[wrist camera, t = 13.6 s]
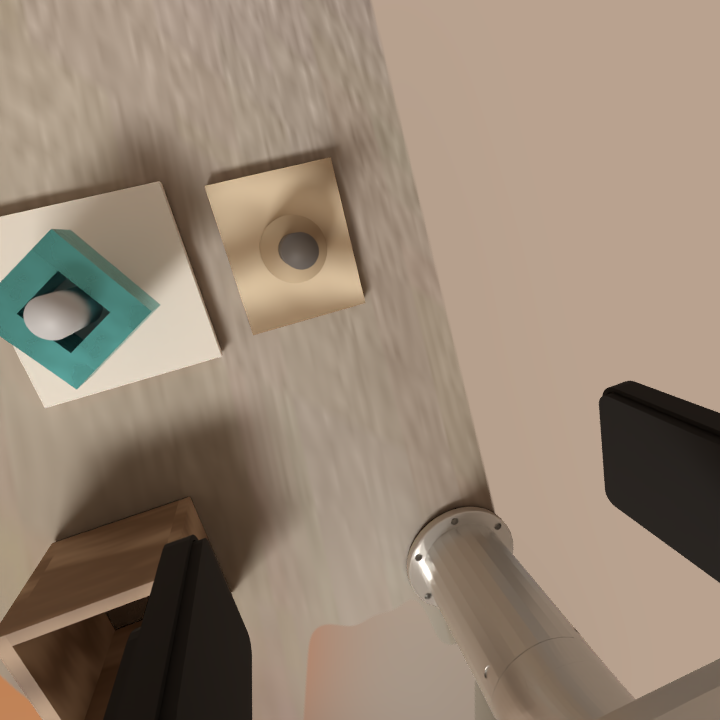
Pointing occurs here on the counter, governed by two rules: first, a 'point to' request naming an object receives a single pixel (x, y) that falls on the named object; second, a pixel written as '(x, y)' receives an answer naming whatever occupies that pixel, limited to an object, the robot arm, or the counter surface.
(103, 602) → the tool caddy
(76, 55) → the counter surface
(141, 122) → the counter surface
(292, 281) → the stand
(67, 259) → the teal square frame
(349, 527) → the counter surface
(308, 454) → the counter surface
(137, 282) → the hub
